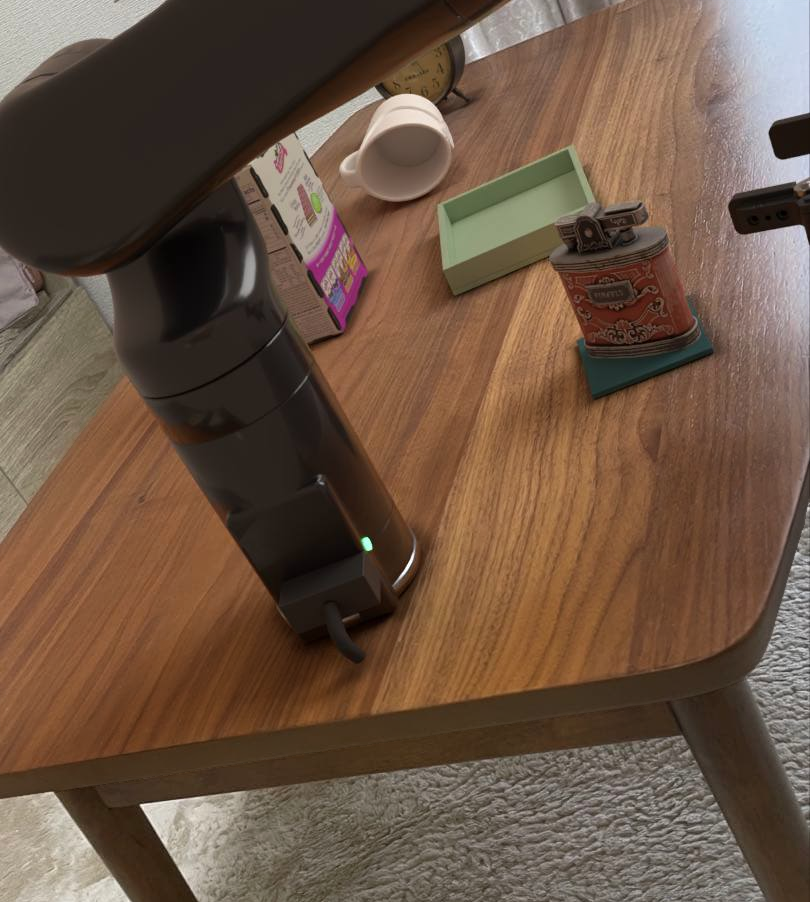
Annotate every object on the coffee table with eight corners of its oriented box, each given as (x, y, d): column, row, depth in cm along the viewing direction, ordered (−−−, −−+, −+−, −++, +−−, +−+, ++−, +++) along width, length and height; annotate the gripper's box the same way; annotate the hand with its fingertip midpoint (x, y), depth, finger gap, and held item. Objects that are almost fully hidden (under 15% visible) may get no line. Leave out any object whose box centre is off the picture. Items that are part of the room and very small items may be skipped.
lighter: (580, 362, 84) (526, 232, 78) (599, 333, 85) (548, 205, 80) (690, 352, 78) (641, 212, 73) (708, 321, 80) (661, 183, 75)
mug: (464, 148, 130) (434, 77, 126) (465, 180, 122) (432, 105, 118) (361, 193, 133) (328, 125, 129) (355, 227, 126) (320, 155, 121)
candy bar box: (323, 289, 116) (238, 128, 107) (370, 273, 114) (287, 107, 105) (293, 351, 107) (198, 182, 99) (344, 335, 105) (251, 160, 97)
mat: (714, 352, 78) (712, 347, 78) (593, 399, 80) (591, 394, 80) (688, 300, 85) (687, 295, 84) (578, 344, 86) (576, 340, 86)
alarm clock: (392, 132, 146) (330, -2, 138) (408, 112, 150) (349, -20, 141) (473, 106, 140) (414, -36, 132) (487, 86, 144) (431, -54, 135)
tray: (606, 231, 99) (596, 203, 98) (454, 296, 102) (442, 270, 101) (582, 169, 111) (572, 144, 110) (447, 228, 114) (436, 204, 113)
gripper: (1076, -21, 64) (767, 61, 73) (1042, 106, 55) (697, 180, 65) (1094, 114, 67) (799, 175, 77) (1066, 253, 59) (737, 301, 69)
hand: (753, 177), depth 71 cm, fingers open, 8 cm apart
